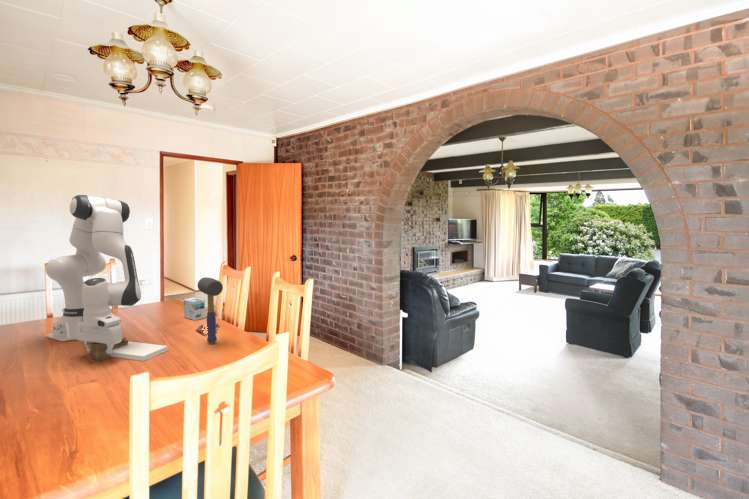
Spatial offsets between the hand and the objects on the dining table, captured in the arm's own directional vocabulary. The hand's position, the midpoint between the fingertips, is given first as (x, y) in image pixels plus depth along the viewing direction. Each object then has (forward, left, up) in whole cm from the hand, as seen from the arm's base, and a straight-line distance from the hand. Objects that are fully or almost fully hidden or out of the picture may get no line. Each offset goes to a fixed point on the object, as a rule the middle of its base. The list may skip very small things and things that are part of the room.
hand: (99, 352), depth 151 cm
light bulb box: (-6, +60, -3) cm, 60 cm away
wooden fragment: (+14, +46, -3) cm, 48 cm away
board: (+8, +9, -3) cm, 12 cm away
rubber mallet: (+31, +28, -3) cm, 42 cm away
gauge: (0, +5, -3) cm, 5 cm away
